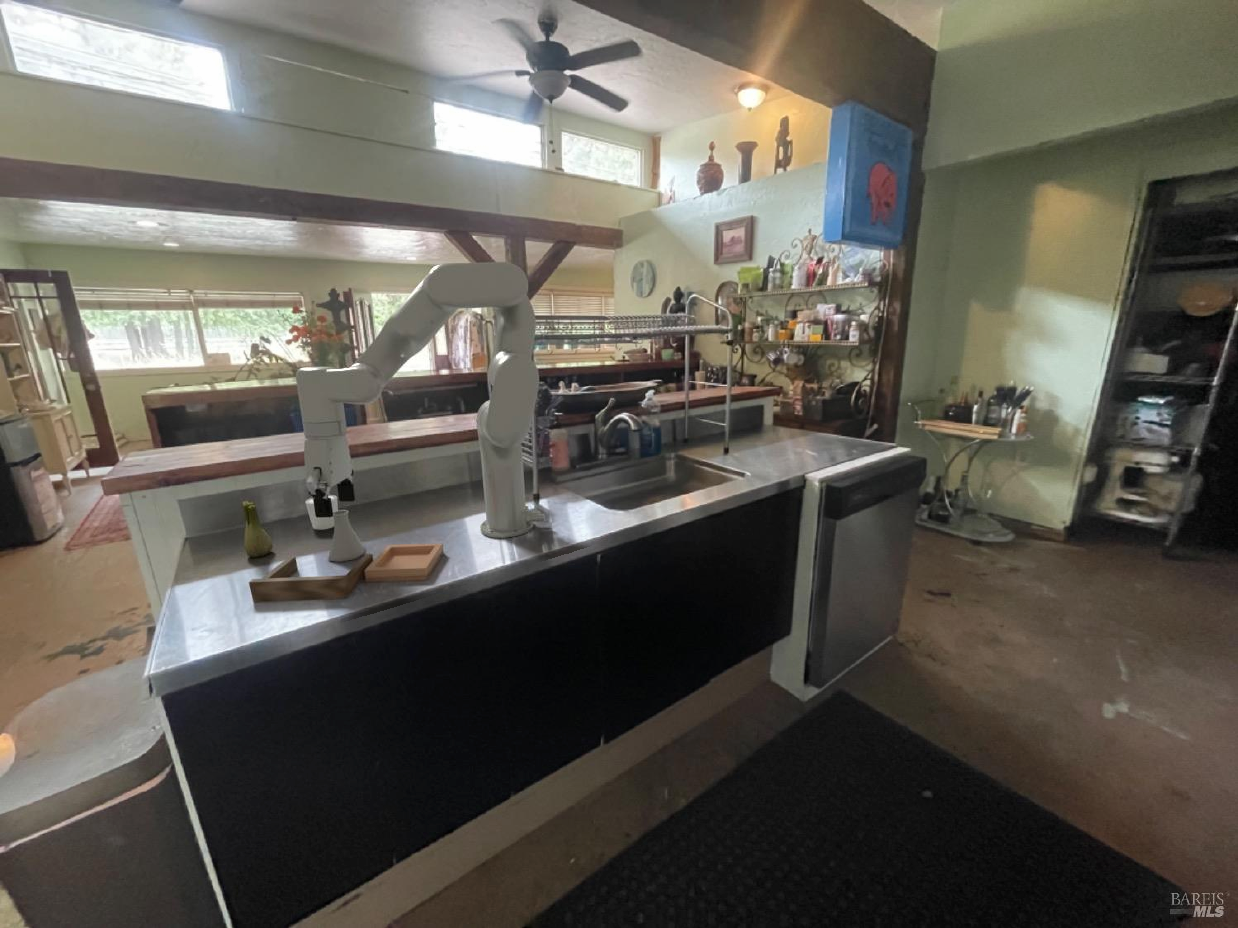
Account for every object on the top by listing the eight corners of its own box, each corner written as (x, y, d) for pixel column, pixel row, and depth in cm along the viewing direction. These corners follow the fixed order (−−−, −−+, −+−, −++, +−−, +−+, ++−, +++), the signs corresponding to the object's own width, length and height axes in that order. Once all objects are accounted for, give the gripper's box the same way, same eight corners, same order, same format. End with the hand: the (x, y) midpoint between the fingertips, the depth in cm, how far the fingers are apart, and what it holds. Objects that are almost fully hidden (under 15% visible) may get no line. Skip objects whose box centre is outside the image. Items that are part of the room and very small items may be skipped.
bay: (374, 567, 102) (371, 549, 101) (346, 598, 90) (343, 578, 89) (292, 570, 101) (288, 552, 100) (253, 602, 89) (248, 582, 88)
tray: (443, 553, 108) (442, 543, 107) (427, 579, 97) (425, 568, 96) (389, 555, 107) (387, 544, 107) (366, 582, 96) (364, 570, 95)
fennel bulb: (250, 551, 110) (239, 500, 107) (276, 547, 112) (266, 496, 109) (244, 561, 105) (231, 508, 102) (271, 557, 107) (260, 505, 104)
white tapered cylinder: (327, 531, 120) (322, 504, 119) (303, 529, 122) (298, 502, 120) (347, 521, 127) (343, 495, 125) (324, 519, 128) (320, 493, 126)
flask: (337, 548, 111) (330, 506, 108) (371, 547, 111) (364, 505, 109) (321, 563, 104) (313, 519, 101) (357, 562, 104) (350, 517, 102)
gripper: (327, 421, 108) (337, 495, 113) (280, 437, 92) (294, 524, 96) (363, 421, 109) (371, 495, 113) (322, 437, 92) (334, 523, 97)
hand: (336, 508), depth 105 cm, fingers open, 9 cm apart
